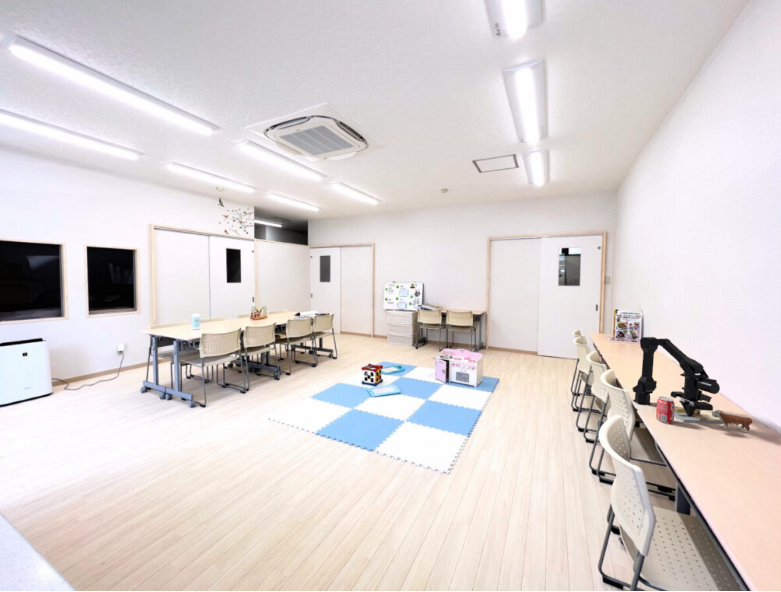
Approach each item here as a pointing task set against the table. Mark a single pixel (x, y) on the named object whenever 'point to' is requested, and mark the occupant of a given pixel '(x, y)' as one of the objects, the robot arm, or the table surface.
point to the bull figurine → (733, 420)
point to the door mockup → (699, 417)
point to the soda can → (665, 410)
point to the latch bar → (681, 410)
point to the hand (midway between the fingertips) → (689, 416)
